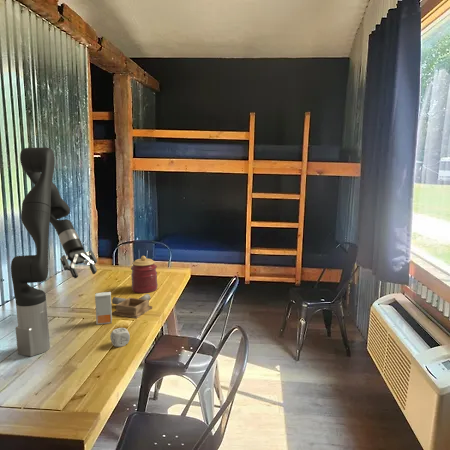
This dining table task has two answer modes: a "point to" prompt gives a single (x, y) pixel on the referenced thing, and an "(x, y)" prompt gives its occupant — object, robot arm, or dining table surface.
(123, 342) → the die
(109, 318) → the skincare box
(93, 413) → the dining table surface
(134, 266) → the canister
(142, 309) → the block
